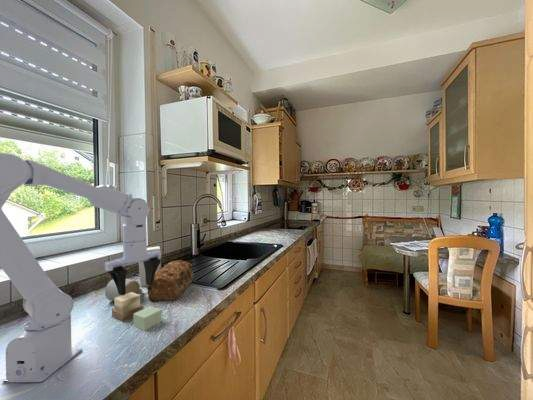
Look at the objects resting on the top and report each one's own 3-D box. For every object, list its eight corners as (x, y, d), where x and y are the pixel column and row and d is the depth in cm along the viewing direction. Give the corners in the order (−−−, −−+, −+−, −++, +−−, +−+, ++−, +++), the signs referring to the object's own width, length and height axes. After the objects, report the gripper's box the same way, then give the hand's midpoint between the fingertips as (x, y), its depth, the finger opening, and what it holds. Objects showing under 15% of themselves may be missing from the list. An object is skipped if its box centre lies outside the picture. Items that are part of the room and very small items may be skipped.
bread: (170, 282, 95) (169, 258, 95) (195, 282, 95) (194, 258, 95) (145, 302, 77) (145, 273, 77) (176, 302, 76) (175, 272, 76)
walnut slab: (122, 323, 64) (122, 314, 64) (112, 318, 67) (112, 309, 67) (143, 314, 69) (143, 306, 69) (132, 309, 72) (132, 301, 72)
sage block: (144, 331, 59) (144, 318, 59) (133, 326, 62) (133, 313, 62) (161, 322, 64) (161, 309, 64) (150, 318, 66) (150, 306, 66)
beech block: (122, 313, 65) (122, 301, 65) (114, 309, 67) (114, 297, 67) (140, 306, 69) (139, 295, 69) (132, 302, 72) (131, 291, 71)
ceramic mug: (124, 306, 74) (124, 282, 74) (104, 304, 76) (104, 281, 76) (148, 293, 84) (148, 273, 84) (129, 292, 86) (129, 271, 86)
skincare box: (161, 279, 99) (160, 245, 99) (161, 283, 93) (161, 248, 93) (139, 282, 95) (138, 247, 95) (138, 287, 90) (138, 250, 90)
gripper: (150, 235, 71) (152, 278, 71) (98, 244, 59) (99, 296, 59) (165, 237, 68) (166, 282, 68) (112, 246, 55) (113, 301, 55)
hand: (136, 289), depth 63 cm, fingers open, 7 cm apart
